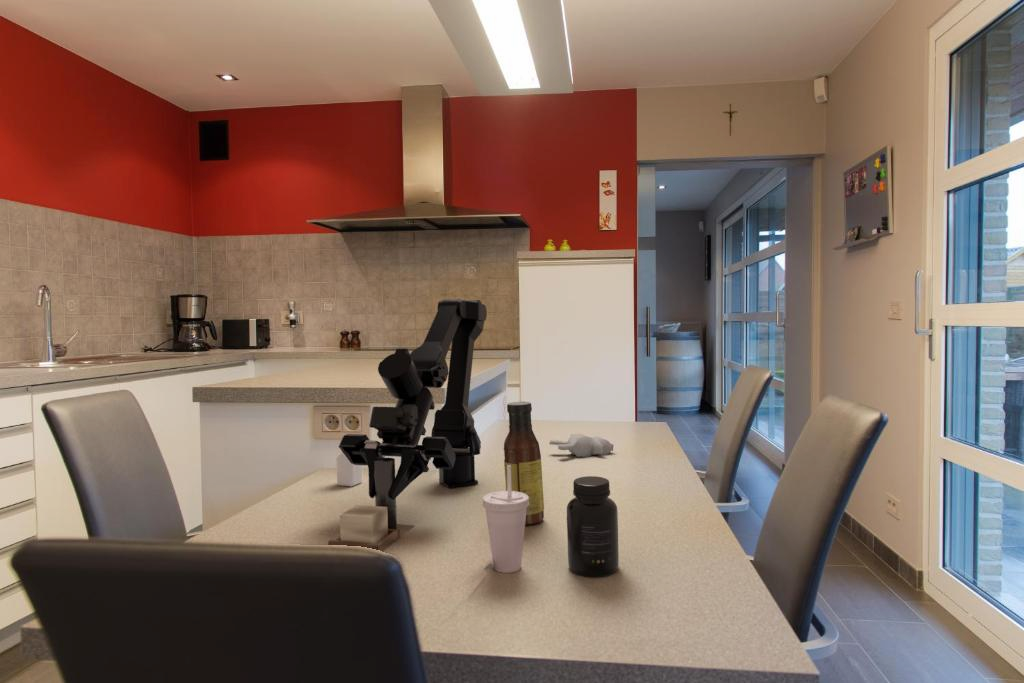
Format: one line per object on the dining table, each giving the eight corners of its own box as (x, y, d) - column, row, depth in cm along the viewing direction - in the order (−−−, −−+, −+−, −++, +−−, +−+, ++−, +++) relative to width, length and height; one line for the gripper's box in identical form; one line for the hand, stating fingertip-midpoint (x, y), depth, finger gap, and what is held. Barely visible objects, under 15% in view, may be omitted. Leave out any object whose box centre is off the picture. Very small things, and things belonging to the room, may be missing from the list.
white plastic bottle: (336, 486, 128) (334, 440, 128) (348, 481, 132) (346, 436, 131) (352, 487, 127) (350, 441, 126) (363, 482, 130) (362, 437, 130)
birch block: (358, 537, 94) (357, 504, 94) (388, 539, 93) (387, 506, 92) (340, 549, 89) (339, 515, 89) (372, 552, 88) (370, 517, 88)
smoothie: (526, 578, 81) (523, 472, 80) (478, 575, 82) (476, 470, 81) (534, 559, 87) (532, 460, 86) (490, 556, 88) (487, 459, 88)
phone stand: (372, 528, 101) (370, 455, 100) (415, 531, 99) (413, 457, 98) (328, 558, 88) (325, 475, 88) (376, 563, 86) (373, 478, 86)
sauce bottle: (548, 516, 105) (546, 400, 105) (538, 528, 100) (535, 405, 99) (512, 513, 108) (509, 399, 107) (500, 524, 102) (497, 404, 101)
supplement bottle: (563, 559, 86) (562, 474, 86) (611, 556, 87) (610, 472, 87) (572, 580, 80) (571, 488, 79) (624, 577, 80) (623, 485, 80)
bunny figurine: (619, 440, 149) (562, 437, 144) (617, 461, 149) (560, 459, 144) (602, 433, 158) (547, 431, 153) (600, 453, 158) (545, 451, 153)
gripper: (342, 386, 103) (305, 467, 93) (447, 387, 98) (420, 473, 88) (367, 424, 111) (336, 503, 101) (465, 427, 106) (442, 510, 96)
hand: (381, 497), depth 96 cm, fingers closed on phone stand, 3 cm apart
